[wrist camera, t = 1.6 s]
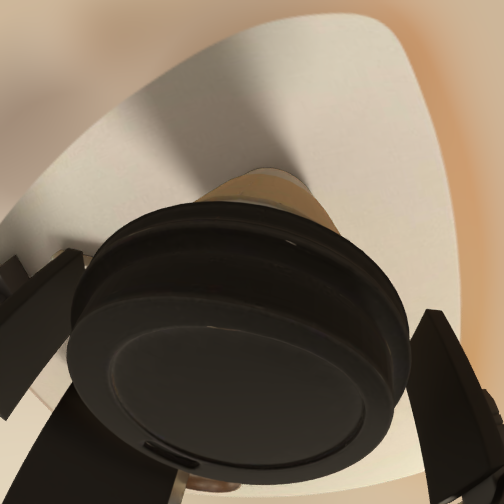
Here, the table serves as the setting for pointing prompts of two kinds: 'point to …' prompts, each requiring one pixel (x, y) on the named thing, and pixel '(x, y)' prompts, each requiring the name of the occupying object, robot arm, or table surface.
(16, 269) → the control block
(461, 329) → the table surface
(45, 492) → the coffee maker
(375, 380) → the coffee cup
